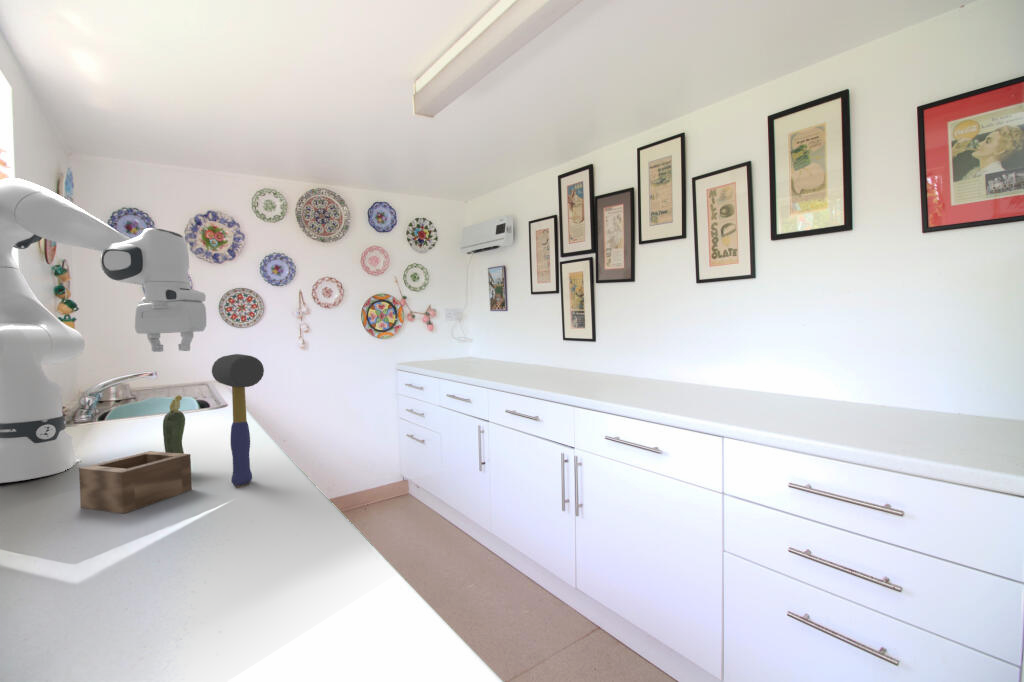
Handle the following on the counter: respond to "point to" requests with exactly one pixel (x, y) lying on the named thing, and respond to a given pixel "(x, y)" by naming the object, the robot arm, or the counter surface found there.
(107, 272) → the robot arm
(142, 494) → the socket block
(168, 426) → the vegetable
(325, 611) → the counter surface
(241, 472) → the rubber mallet
